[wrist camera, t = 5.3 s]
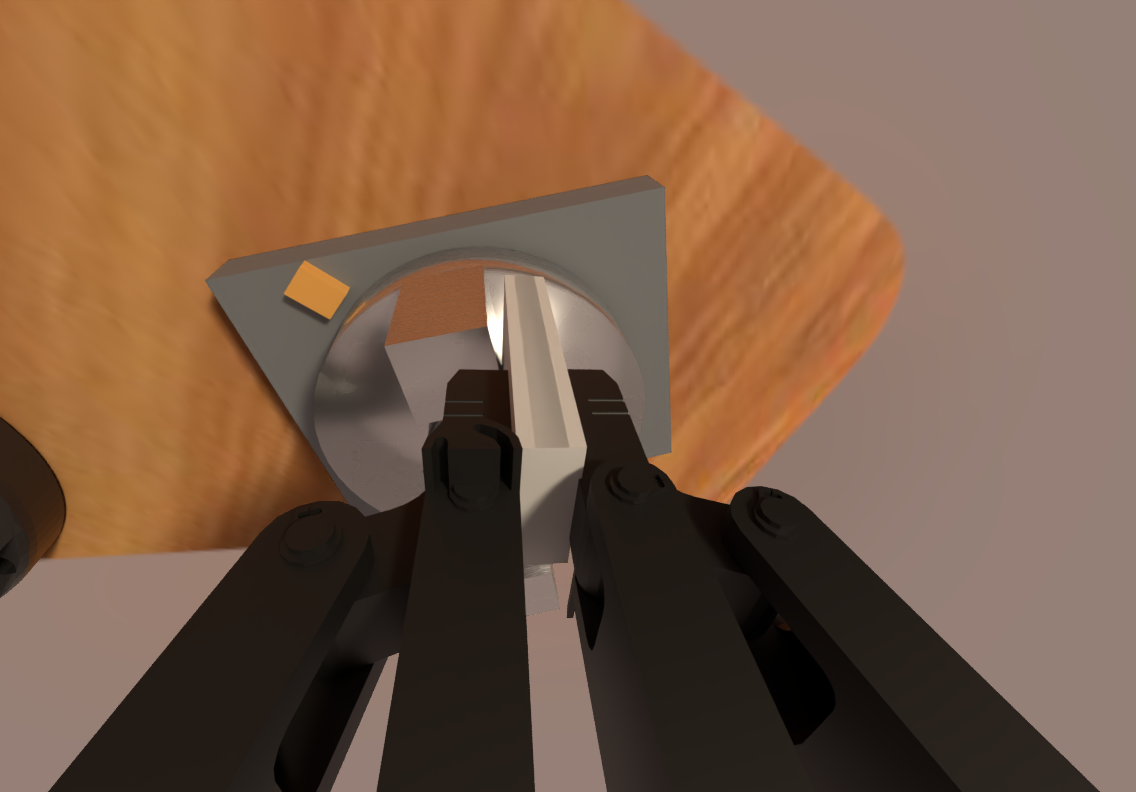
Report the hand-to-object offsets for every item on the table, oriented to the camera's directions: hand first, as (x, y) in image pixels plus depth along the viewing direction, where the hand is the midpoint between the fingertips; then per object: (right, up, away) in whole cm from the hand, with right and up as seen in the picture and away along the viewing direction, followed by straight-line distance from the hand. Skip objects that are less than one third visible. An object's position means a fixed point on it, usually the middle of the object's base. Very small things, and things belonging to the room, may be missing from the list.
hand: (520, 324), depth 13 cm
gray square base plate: (-3, 0, +9) cm, 9 cm away
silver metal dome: (-2, -2, +7) cm, 8 cm away
